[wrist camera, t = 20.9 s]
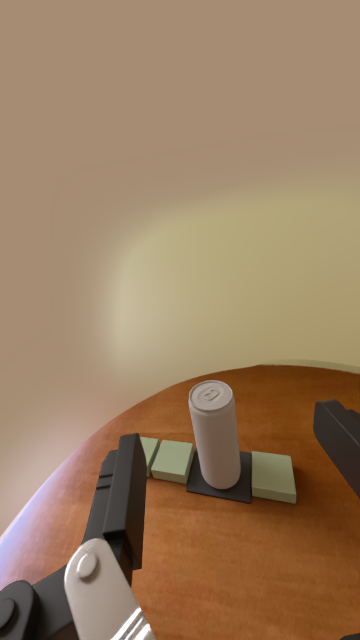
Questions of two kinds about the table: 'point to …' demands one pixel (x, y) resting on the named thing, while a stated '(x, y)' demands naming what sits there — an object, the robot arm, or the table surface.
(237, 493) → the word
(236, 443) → the beverage can
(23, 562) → the table surface
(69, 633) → the robot arm
